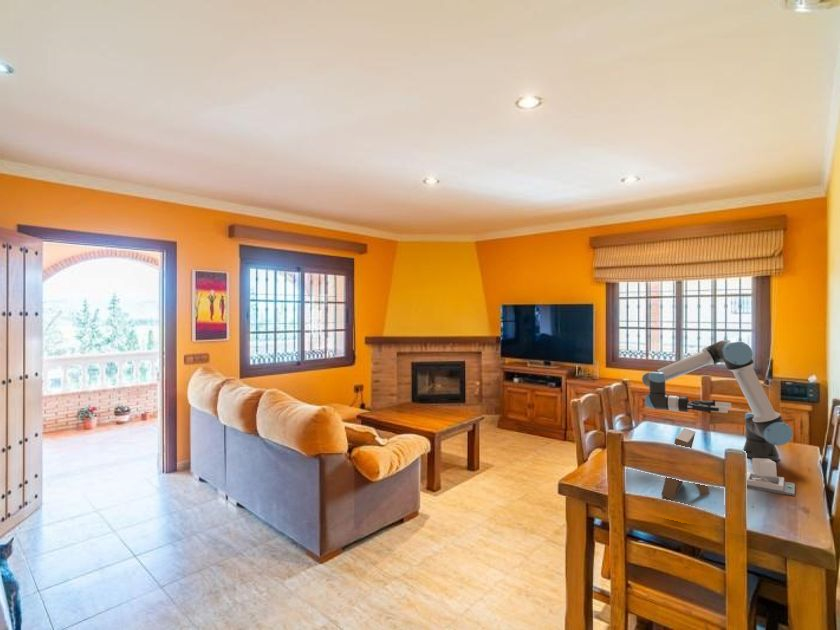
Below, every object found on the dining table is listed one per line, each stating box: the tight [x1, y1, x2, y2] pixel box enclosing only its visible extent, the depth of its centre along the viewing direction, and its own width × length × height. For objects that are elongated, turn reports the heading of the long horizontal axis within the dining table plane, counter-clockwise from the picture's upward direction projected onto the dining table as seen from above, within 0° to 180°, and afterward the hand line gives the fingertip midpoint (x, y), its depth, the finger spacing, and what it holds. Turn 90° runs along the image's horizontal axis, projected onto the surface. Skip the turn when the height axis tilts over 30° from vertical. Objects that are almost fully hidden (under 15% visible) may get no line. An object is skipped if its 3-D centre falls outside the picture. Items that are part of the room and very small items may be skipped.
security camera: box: [751, 458, 778, 483], centre depth 188 cm, size 6×7×10 cm
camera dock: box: [746, 471, 796, 497], centre depth 188 cm, size 15×20×3 cm
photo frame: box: [661, 427, 710, 501], centre depth 182 cm, size 15×22×25 cm
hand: (729, 407), depth 209 cm, fingers open, 13 cm apart
